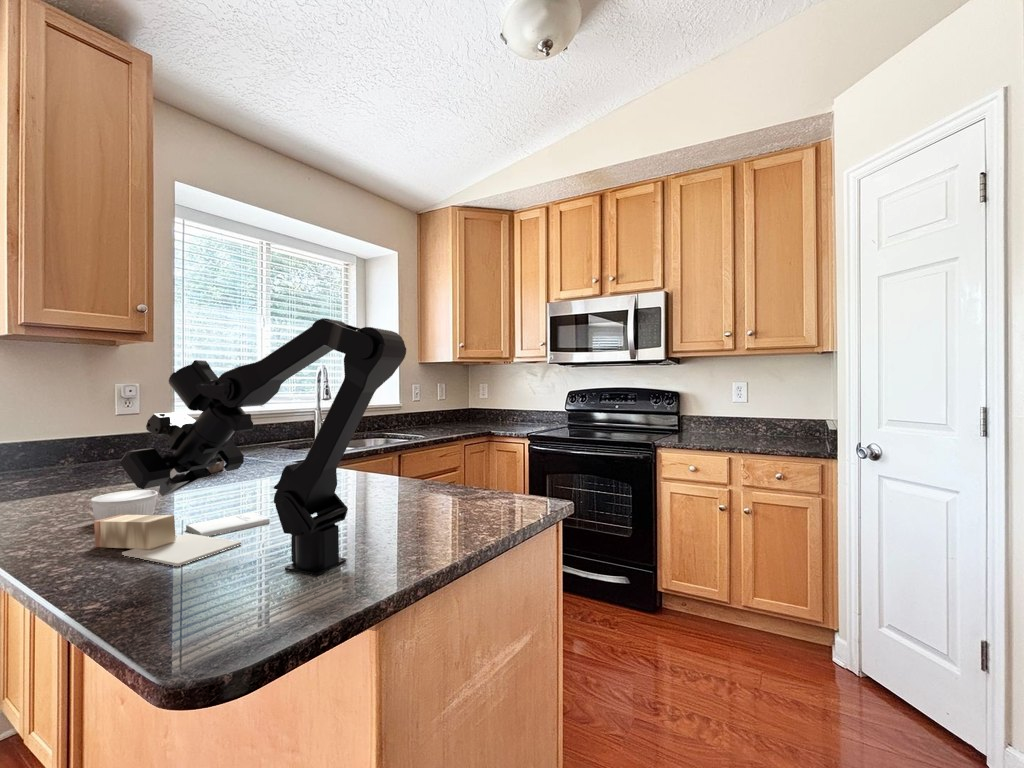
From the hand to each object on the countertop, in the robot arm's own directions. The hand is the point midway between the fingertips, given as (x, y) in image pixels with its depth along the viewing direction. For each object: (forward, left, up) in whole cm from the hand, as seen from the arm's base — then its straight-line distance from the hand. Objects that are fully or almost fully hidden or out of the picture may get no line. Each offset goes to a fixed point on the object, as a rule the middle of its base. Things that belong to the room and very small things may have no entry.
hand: (162, 493), depth 85 cm
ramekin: (+27, -9, -10) cm, 30 cm away
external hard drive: (+2, -14, -10) cm, 17 cm away
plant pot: (+66, -53, -10) cm, 85 cm away
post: (0, 0, -6) cm, 7 cm away
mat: (-4, -1, -10) cm, 10 cm away
